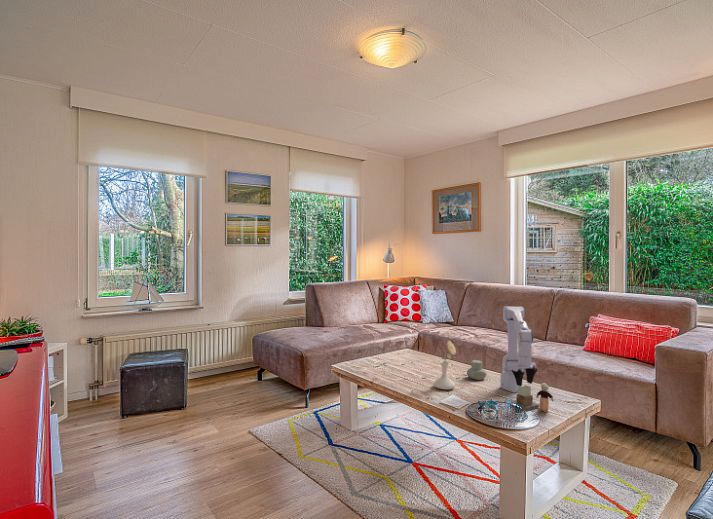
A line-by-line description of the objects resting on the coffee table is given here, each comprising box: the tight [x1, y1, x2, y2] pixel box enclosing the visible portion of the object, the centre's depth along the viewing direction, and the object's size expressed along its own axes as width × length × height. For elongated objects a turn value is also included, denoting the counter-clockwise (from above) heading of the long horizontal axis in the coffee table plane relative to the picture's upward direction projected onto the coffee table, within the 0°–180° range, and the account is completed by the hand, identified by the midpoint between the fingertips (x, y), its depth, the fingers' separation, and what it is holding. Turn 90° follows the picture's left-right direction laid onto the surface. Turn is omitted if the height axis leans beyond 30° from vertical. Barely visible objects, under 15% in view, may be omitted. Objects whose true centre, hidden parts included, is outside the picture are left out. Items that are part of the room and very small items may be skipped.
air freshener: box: [466, 359, 487, 381], centre depth 231 cm, size 11×8×10 cm
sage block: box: [517, 383, 532, 397], centre depth 189 cm, size 4×4×4 cm
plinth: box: [510, 399, 540, 412], centre depth 189 cm, size 9×9×2 cm
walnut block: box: [515, 393, 534, 406], centre depth 189 cm, size 5×5×4 cm
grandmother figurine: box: [535, 382, 555, 413], centre depth 183 cm, size 8×4×13 cm, turn 56°
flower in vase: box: [433, 340, 457, 390], centre depth 215 cm, size 13×11×25 cm
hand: (524, 384), depth 189 cm, fingers open, 7 cm apart
